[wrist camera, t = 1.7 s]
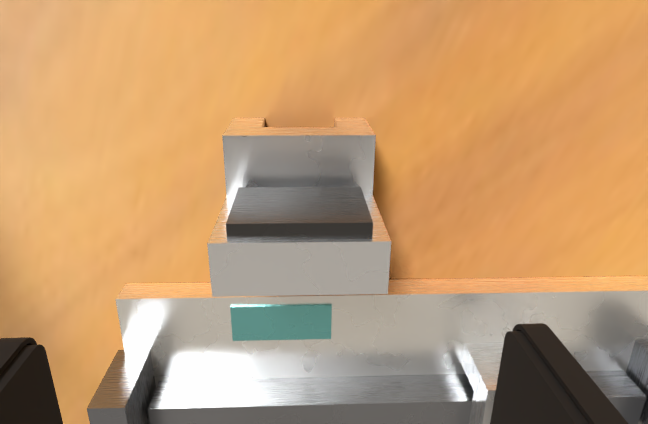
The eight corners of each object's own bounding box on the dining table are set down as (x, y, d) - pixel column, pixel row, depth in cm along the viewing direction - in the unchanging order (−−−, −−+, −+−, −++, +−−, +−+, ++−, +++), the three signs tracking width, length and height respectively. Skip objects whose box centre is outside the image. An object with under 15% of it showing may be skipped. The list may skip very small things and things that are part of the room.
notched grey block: (233, 117, 23) (201, 169, 15) (364, 117, 23) (395, 168, 15) (239, 219, 24) (213, 309, 17) (360, 218, 25) (387, 306, 17)
